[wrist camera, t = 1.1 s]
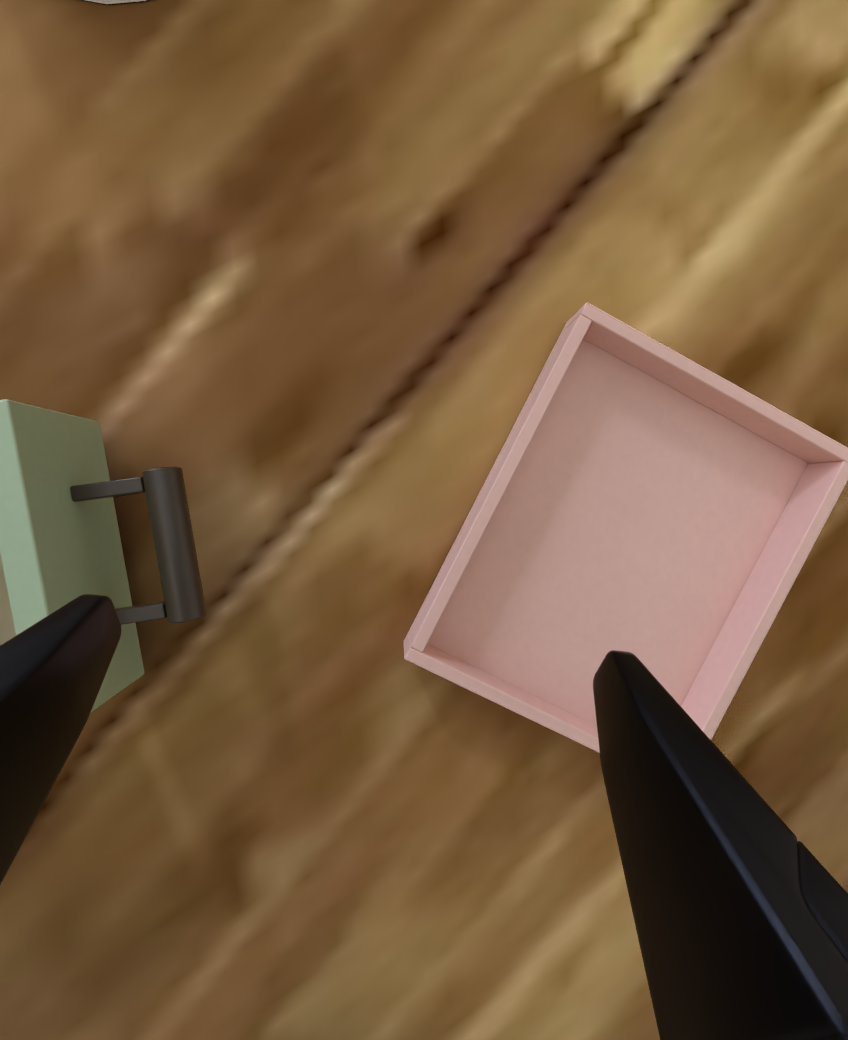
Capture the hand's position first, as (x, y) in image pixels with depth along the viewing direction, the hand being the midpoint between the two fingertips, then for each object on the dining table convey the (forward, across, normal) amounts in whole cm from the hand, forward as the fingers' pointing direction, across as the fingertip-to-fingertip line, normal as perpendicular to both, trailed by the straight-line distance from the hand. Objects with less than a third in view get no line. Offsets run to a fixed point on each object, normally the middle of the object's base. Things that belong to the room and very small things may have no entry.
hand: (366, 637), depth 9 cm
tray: (+13, -11, +8) cm, 19 cm away
